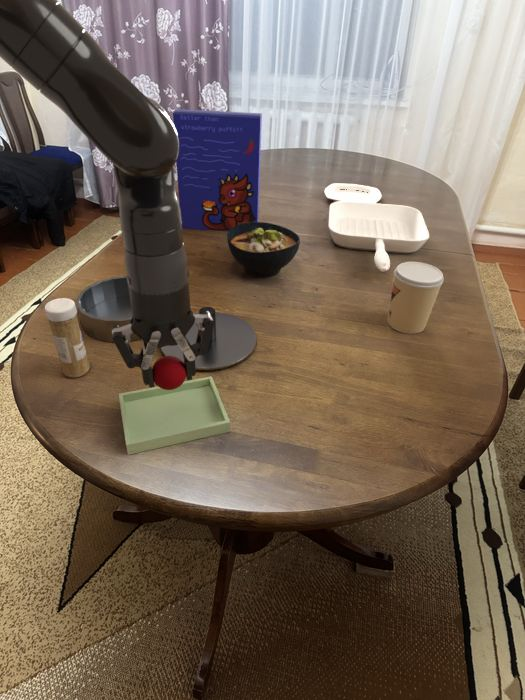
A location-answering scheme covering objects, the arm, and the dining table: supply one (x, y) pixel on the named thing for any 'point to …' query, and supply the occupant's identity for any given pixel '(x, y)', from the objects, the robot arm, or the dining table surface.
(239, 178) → the cereal box
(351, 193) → the plate
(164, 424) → the tray
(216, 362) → the pot lid
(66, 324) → the sprinkles bottle
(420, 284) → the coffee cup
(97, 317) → the pot
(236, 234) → the bowl
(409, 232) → the pan
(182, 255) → the robot arm
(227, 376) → the dining table surface
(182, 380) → the dark red ball
